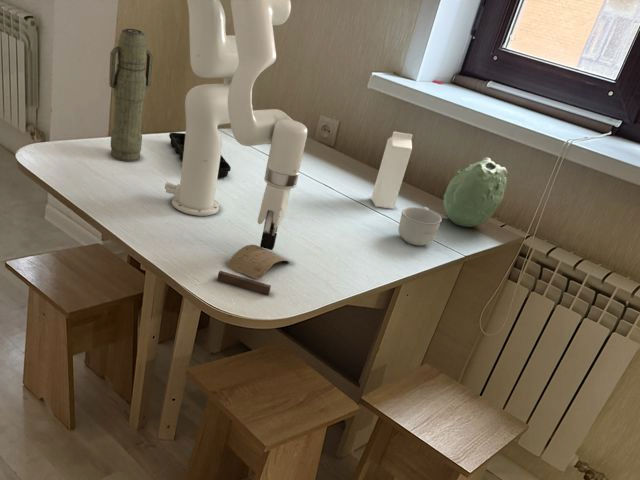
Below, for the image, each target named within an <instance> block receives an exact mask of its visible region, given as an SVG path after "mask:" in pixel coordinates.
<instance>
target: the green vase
mask: <svg viewBox="0 0 640 480" xmlns="http://www.w3.org/2000/svg"><path fill="white" fill-rule="evenodd" d="M507 175H508V170H507V168H506V167H505V166H501V165H500V164H496V163H495V161H493V160H492V159H491V158H490V157H487V156H486V157H482V160H480V161H477V162H475V163H472V164H468V166H467V167H466V168H463V166H460V168H459V169H457V171H456V173H455V175H454V177H453V178H451V180H450V181H449V182H448V185H447V187H446V189H445V193H444V194H443V196H442V198H443V201H442V204H443V208H444V211H445V214H446V215H447V218H448V219H450V221H451V222H452V223H454V224H455V225H457V226H460V227H467V228H473V227H477V226H479V225H483V224H485V223H487V221H489V220H490V219H491V218H492V216H494V214H495V213H496V211H497V209H498V208H499V207H500V205H501V203H502V201H503V199H504V195H505V191H506V187H507V180H508V177H506V176H507Z"/></svg>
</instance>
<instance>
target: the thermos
mask: <svg viewBox="0 0 640 480" xmlns="http://www.w3.org/2000/svg"><path fill="white" fill-rule="evenodd" d="M117 43H118V44H117V46H115V47H113V48H112V50H111V51H110V52H109V53H110V55H109V76H108V79H109V81H108V83H109V87H110V88H112V89H113V93H112V94H113V97H114V108H113V109H114V111H113V127H112V131H111V133H110V148H111V149H110V150H111V151H110V156H111V158H113V159H115V160H117V161H121V162H128V163H132V162H137V161H139V160H140V159H141V152H142V143H143V133H142V121H143V107H144V100H145V99H146V91H147V90H148V89H149V88H150V87H151V82H152V69H153V68H152V67H153V55H152V53H151V51H150V50H149V49H147V47H148V45H147V39H146V34H145V33H144V32H142V30H139V29H136V28H124V29H122V30H121V32H120V35H119V38H118V42H117ZM116 55H117V57H116ZM116 58H117V64H116ZM145 64H146V65H145Z"/></svg>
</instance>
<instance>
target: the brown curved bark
mask: <svg viewBox="0 0 640 480" xmlns="http://www.w3.org/2000/svg"><path fill="white" fill-rule="evenodd" d="M283 261H284V262H287V263H290V261H288V260H286V259H285V258H283V257H280V256H279V255H276V254H275V253H273V252H271V251H270V250H269V251H268V249H265V248H262V247H260V245H257V244H248V245H245V246H243V247H242V248H240V249H238V250H237V251H235V253H234V254H233V255H232V257H231V258H230V259H229V260H228V262H226V264H227V267H228V268H229V269H232V270H233V271H234V272H236V273H240V274H243V275H245V276H248V277H249V278H252V279H256V280H259V279H262V278H263V276H264V275H265V273H266V272H267V271H269V269H271V268H272V266H273V265H274V264H277V263H279V262H283Z"/></svg>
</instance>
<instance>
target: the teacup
mask: <svg viewBox="0 0 640 480" xmlns="http://www.w3.org/2000/svg"><path fill="white" fill-rule="evenodd" d="M442 221H443V220H442V216H441V215H439V214H438V213H437V212H435V211H432V210H429V208H428V207H426V206H424V207H417V206H416V207H415V206H411V207H405V208H403V209H402V211H401V216H400V220H399V224H398V233H399V235H400V237H401V238H402V239H403V240H404V241H405V242H406V243H408V244H410V245H413V246H419V247H420V246H425V245H428V244H429V243H432V242H433V241H434V240H435V239H436V236H437V235H438V231H439V228H440V225H441V222H442Z"/></svg>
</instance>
